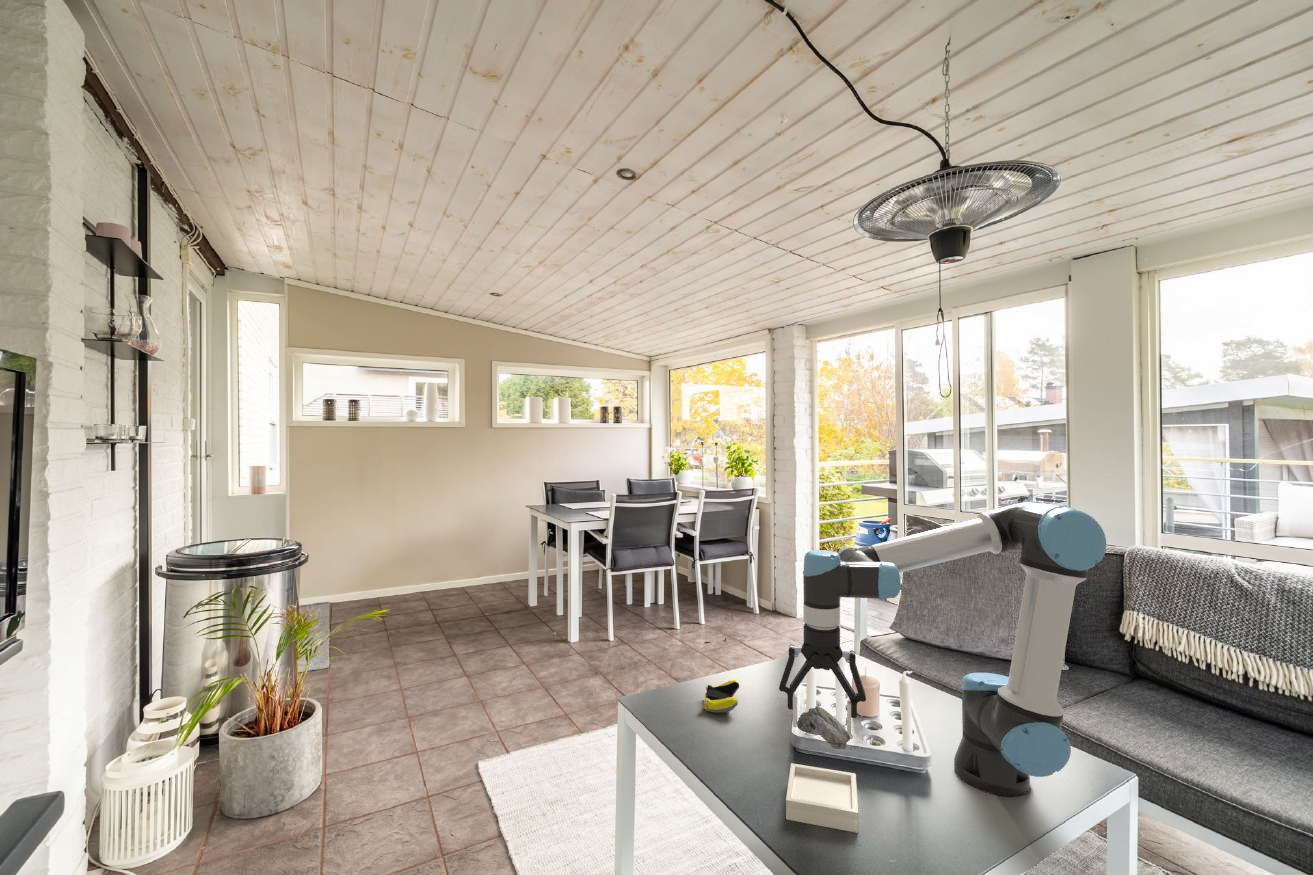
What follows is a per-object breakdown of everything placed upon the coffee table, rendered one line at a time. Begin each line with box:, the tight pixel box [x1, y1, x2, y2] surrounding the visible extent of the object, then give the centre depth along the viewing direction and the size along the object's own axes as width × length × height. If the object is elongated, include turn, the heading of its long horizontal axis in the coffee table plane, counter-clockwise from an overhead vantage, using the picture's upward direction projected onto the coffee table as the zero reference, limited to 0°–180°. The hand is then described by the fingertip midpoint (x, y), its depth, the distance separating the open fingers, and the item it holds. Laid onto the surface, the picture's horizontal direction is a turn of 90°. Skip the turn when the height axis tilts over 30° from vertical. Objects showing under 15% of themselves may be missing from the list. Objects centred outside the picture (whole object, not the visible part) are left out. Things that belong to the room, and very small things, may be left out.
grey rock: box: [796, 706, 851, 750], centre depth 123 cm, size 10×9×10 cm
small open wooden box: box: [785, 762, 859, 834], centre depth 124 cm, size 14×14×4 cm
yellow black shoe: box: [702, 679, 740, 713], centre depth 169 cm, size 15×6×10 cm
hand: (821, 727), depth 124 cm, fingers closed on grey rock, 10 cm apart
